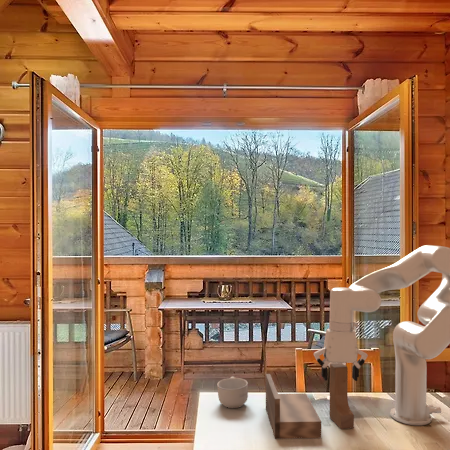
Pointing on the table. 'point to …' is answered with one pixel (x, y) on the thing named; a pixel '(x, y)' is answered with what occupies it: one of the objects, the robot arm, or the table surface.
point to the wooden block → (340, 396)
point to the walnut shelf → (291, 414)
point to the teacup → (232, 392)
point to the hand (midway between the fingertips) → (339, 379)
